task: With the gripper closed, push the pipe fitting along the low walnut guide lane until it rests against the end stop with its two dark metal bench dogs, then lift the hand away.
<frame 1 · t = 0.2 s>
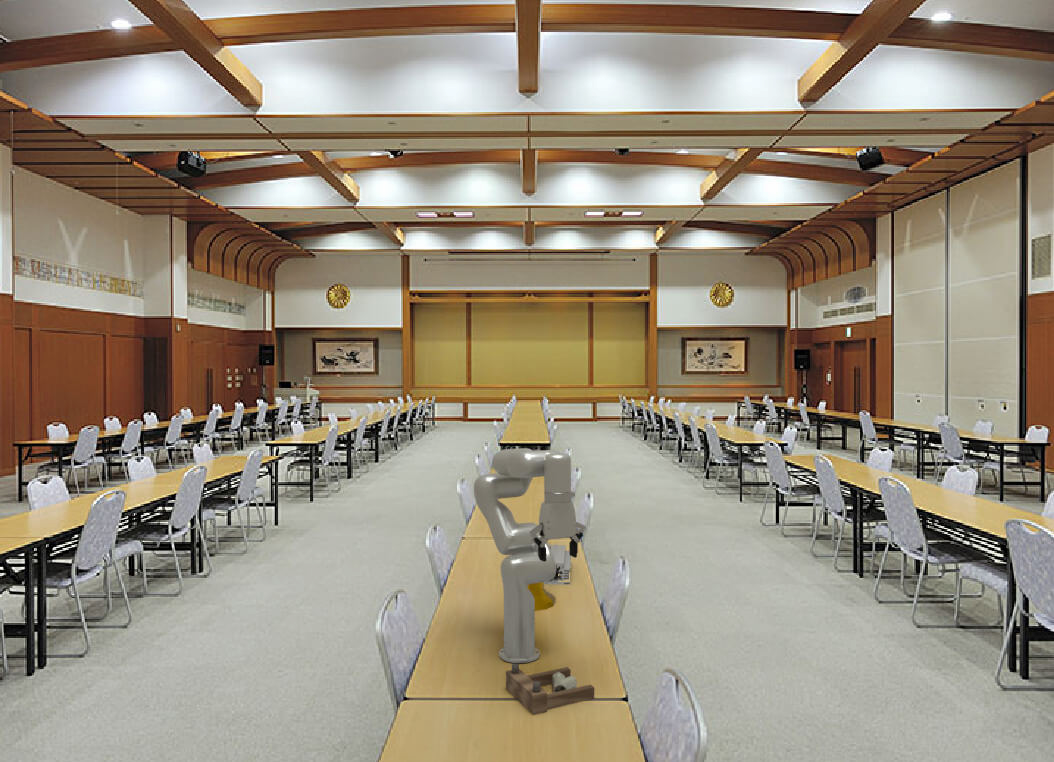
hand: (558, 558, 207), 36 cm above the table, tool pointing down, fingers open, 9 cm apart
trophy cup: (531, 603, 280), on the table
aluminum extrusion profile: (554, 575, 319), on the table
pipe fitting: (565, 692, 204), on the table
bench jig: (547, 694, 202), on the table
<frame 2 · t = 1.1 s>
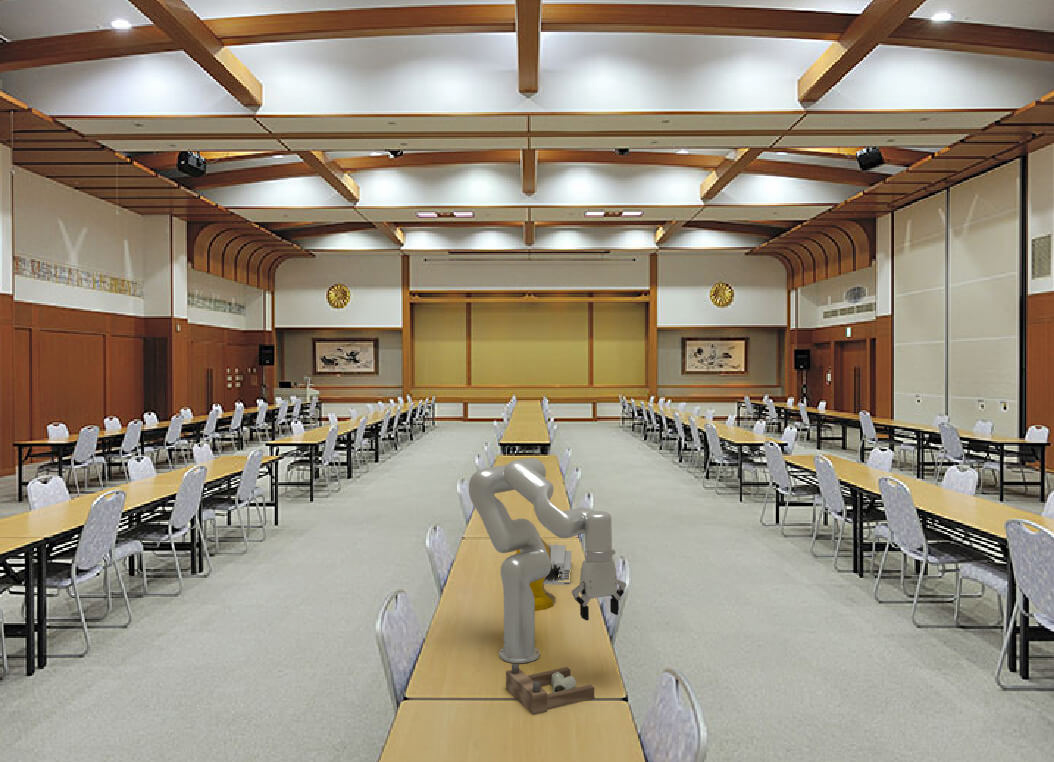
hand: (599, 616, 208), 19 cm above the table, tool pointing down, fingers open, 9 cm apart
nothing on the table moved.
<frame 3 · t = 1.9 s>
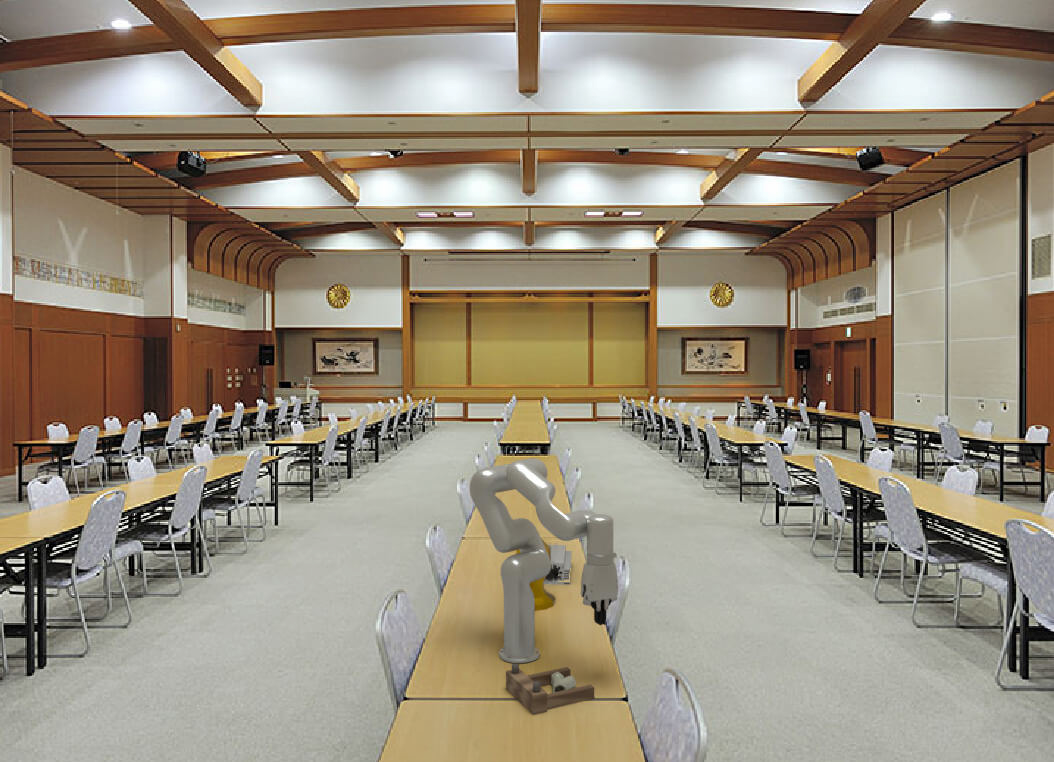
hand: (600, 623, 209), 17 cm above the table, tool pointing down, fingers closed
nothing on the table moved.
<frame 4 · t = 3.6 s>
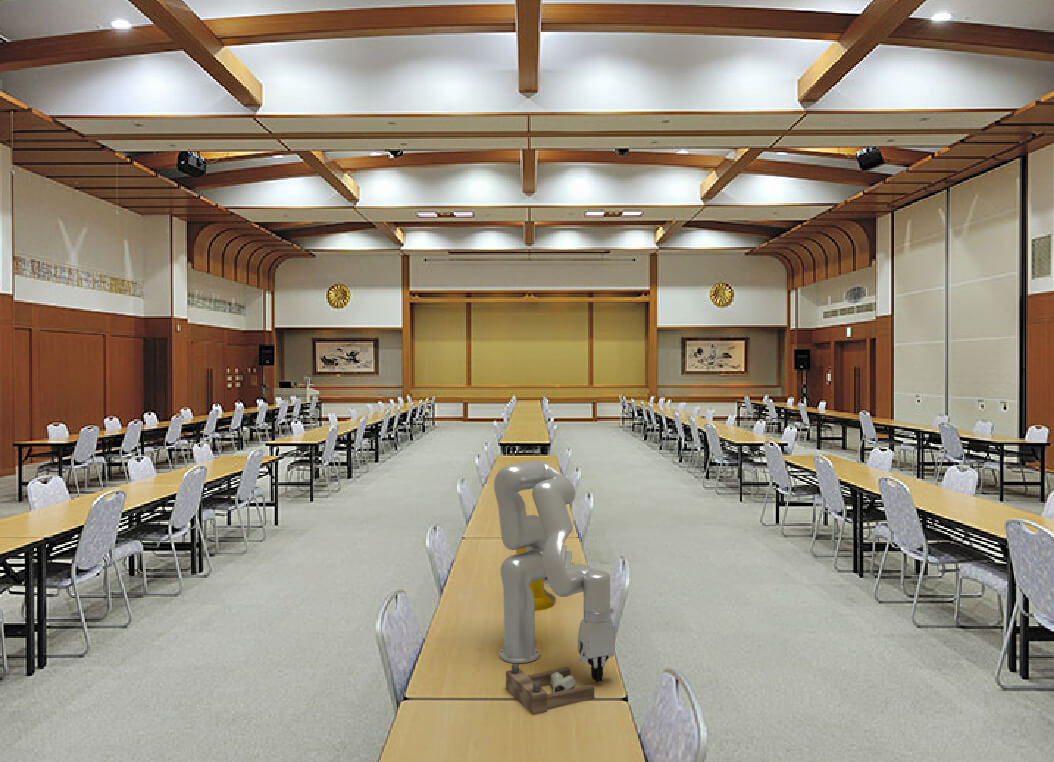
hand: (597, 679, 209), 1 cm above the table, tool pointing down, fingers closed
nothing on the table moved.
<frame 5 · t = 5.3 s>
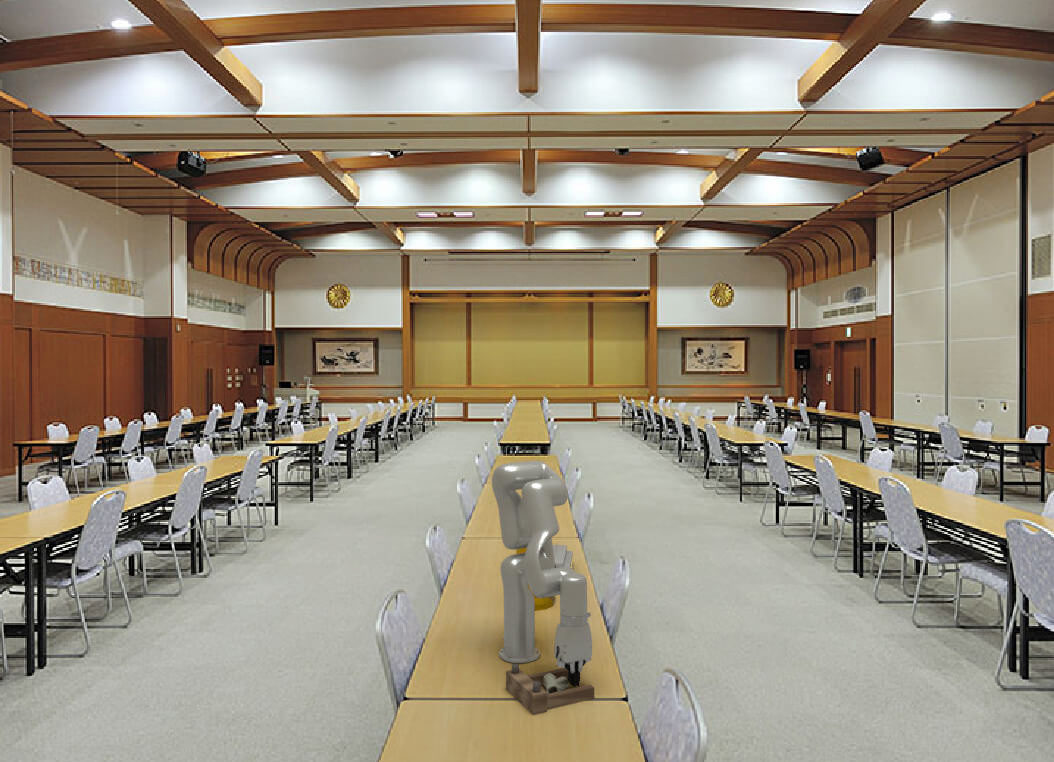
hand: (574, 684, 205), 1 cm above the table, tool pointing down, fingers closed
pipe fitting: (557, 693, 204), on the table, touching gripper
everything else where it was.
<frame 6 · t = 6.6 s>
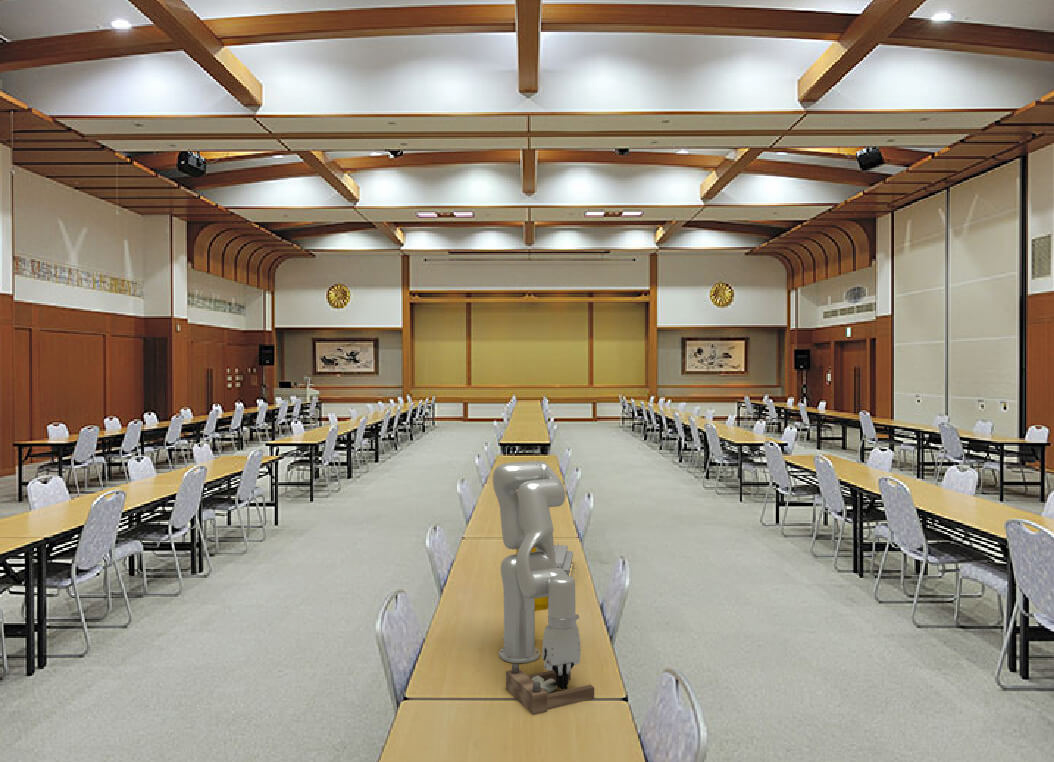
hand: (562, 687, 203), 1 cm above the table, tool pointing down, fingers closed
pipe fitting: (545, 695, 202), on the table
everything else where it was.
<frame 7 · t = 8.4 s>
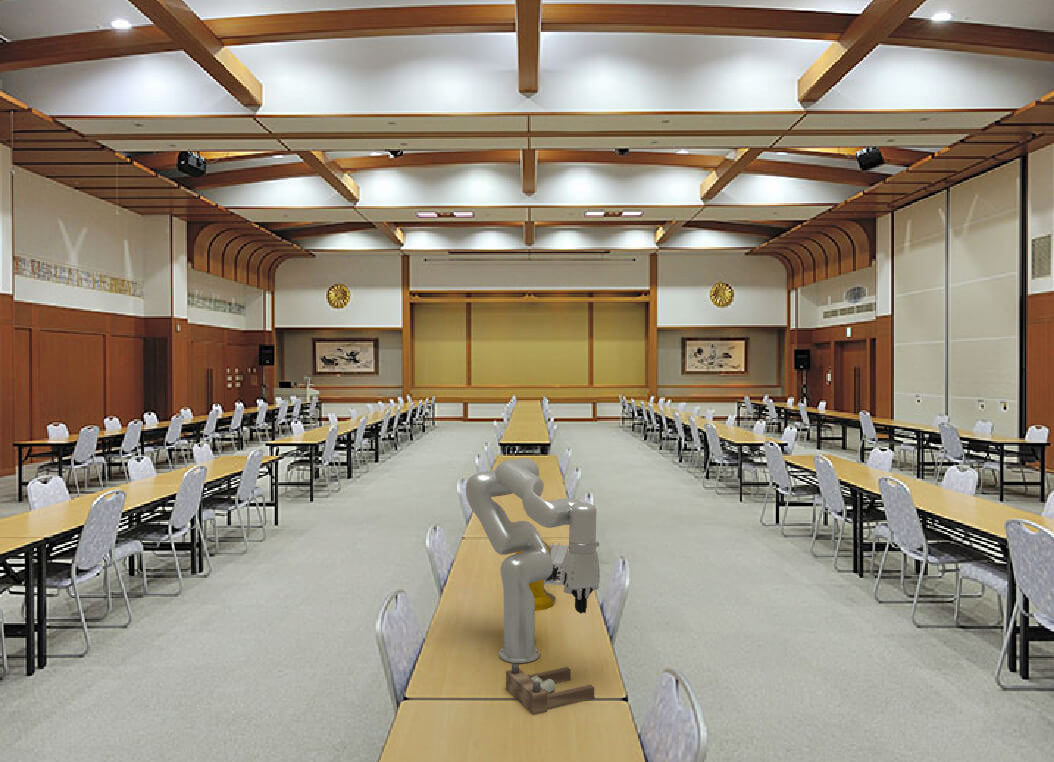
hand: (580, 611, 209), 20 cm above the table, tool pointing down, fingers closed
nothing on the table moved.
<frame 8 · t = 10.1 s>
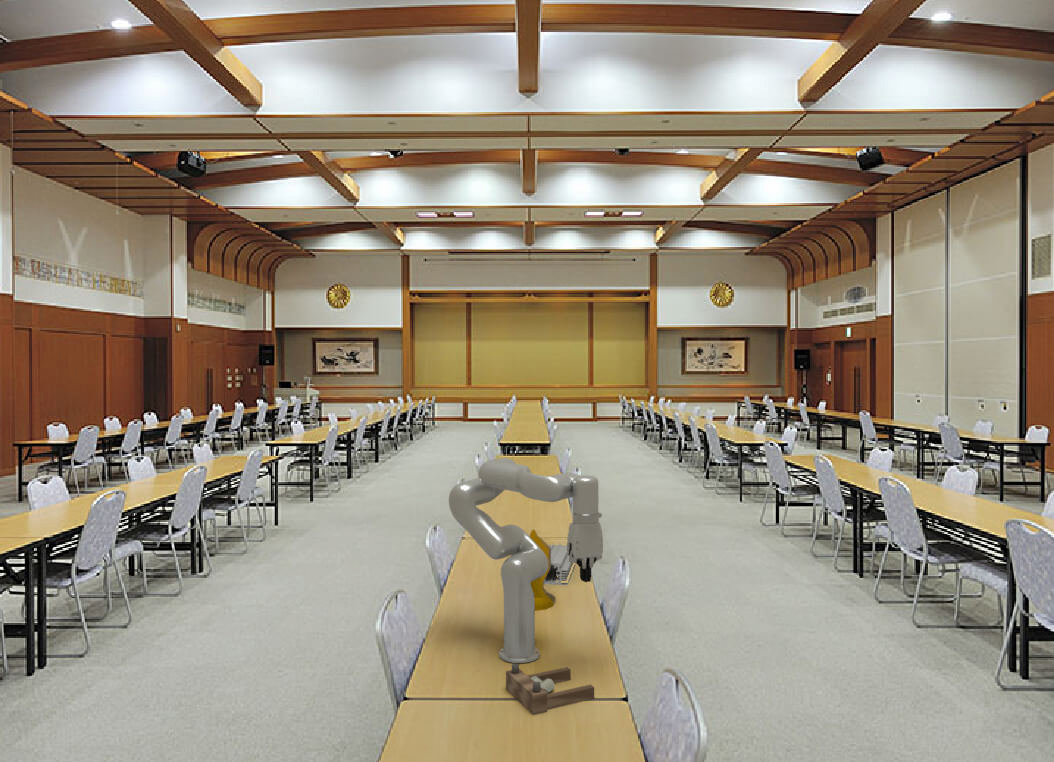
hand: (585, 580, 216), 27 cm above the table, tool pointing down, fingers closed
nothing on the table moved.
at the end: pipe fitting inside the target area (1.0 cm from its centre), on the table; pipe fitting moved 6.7 cm from its start; the gripper is holding nothing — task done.
